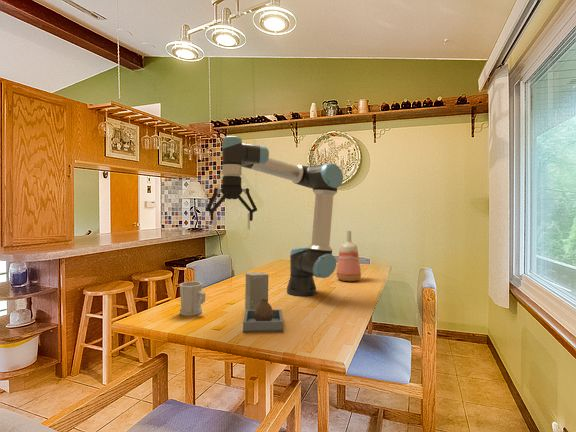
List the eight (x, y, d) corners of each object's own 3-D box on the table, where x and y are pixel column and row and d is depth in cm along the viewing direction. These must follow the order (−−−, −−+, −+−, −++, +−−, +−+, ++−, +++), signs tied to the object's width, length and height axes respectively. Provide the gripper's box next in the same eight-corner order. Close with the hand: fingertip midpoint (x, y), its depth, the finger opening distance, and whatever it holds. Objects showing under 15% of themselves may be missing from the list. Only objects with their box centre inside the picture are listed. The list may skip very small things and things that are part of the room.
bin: (281, 318, 130) (281, 309, 130) (283, 331, 116) (283, 321, 116) (245, 318, 130) (245, 309, 129) (242, 332, 116) (243, 322, 115)
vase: (254, 320, 126) (254, 297, 126) (272, 319, 127) (272, 297, 126) (254, 326, 119) (254, 302, 119) (273, 326, 120) (273, 302, 120)
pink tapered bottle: (331, 279, 199) (331, 230, 199) (346, 276, 209) (346, 229, 208) (351, 284, 189) (351, 232, 188) (365, 280, 199) (366, 231, 198)
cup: (206, 308, 142) (206, 281, 141) (205, 315, 133) (205, 286, 132) (181, 310, 140) (181, 281, 139) (177, 317, 131) (177, 287, 130)
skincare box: (250, 314, 135) (250, 275, 134) (244, 309, 141) (244, 272, 141) (269, 311, 139) (269, 274, 138) (262, 307, 145) (262, 270, 144)
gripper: (263, 177, 137) (263, 228, 138) (202, 176, 135) (202, 228, 136) (263, 175, 130) (262, 229, 130) (198, 174, 128) (198, 229, 129)
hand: (231, 229), depth 133 cm, fingers open, 13 cm apart
